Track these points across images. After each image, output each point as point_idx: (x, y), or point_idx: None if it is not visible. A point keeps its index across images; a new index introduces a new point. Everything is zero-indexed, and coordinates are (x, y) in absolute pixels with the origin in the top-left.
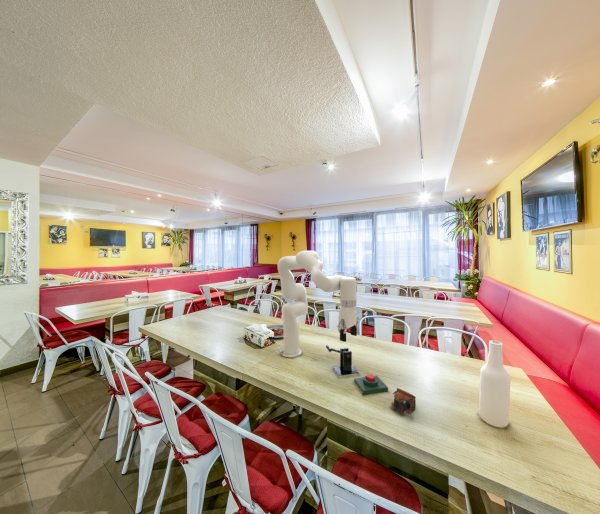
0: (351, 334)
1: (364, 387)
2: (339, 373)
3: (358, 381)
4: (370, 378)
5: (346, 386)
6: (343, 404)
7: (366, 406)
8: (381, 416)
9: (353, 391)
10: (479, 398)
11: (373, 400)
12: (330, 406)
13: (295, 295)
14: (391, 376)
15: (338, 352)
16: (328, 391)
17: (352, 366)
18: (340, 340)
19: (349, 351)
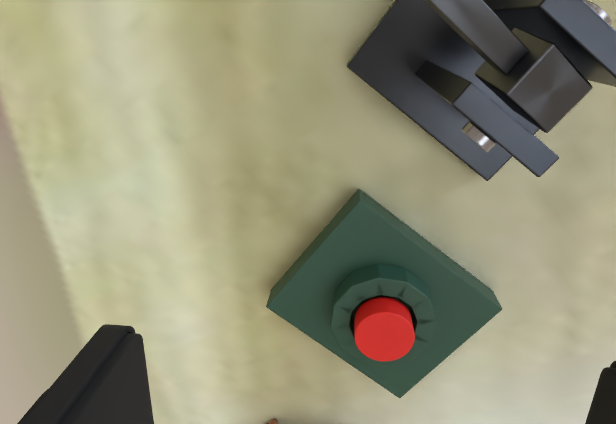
0: (600, 391)
1: (301, 299)
2: (382, 49)
3: (342, 242)
4: (357, 344)
5: (285, 167)
6: (120, 237)
7: (198, 332)
8: (187, 401)
9: (267, 228)
10: None
11: (269, 342)
12: (49, 190)
13: None
14: (595, 349)
15: (443, 19)
16: (147, 98)
17: None
18: (111, 332)
19: (530, 150)
